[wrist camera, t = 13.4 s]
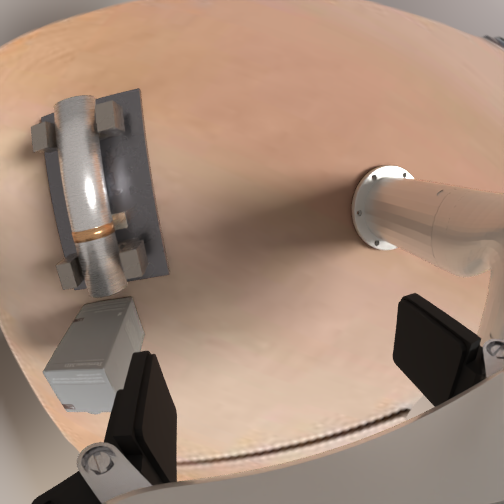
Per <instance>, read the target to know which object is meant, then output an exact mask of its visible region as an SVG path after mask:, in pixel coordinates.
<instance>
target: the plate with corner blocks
mask: <svg viewBox="0 0 504 504" xmlns="http://www.w3.org/2000/svg"><path fill="white" fill-rule="evenodd" d="M95 102H96V105H95V112H96V122H97V132H98V133H99V141H100V149H101V156H102V163H103V170H104V176H105V183H106V188H107V194H108V200H109V205H110V210H111V215H112V220H113V223H114V228H115V234H116V239H117V243H118V247H119V252H120V253H119V255H120V259H121V263H122V267H123V271H124V275H125V278H126V279H127V282H128V281H134V280H140V279H146V278H151V277H157V276H163V275H169V273H170V270H169V266H168V261H167V256H166V252H165V247H164V242H163V237H162V232H161V227H160V222H159V216H158V211H157V205H156V200H155V194H154V188H153V182H152V175H151V169H150V162H149V156H148V148H147V141H146V133H145V125H144V117H143V108H142V99H141V90H140V89H139V88H138V89H134V90H130V91H125V92H121V93H117V94H114V95H110V96H106V97H102V98H99V99H95ZM41 120H42V123H39V124H37V125H34V126H32V127H31V134H32V145H33V152H41V153H45V160H46V168H47V174H48V181H49V187H50V193H51V198H52V204H53V209H54V214H55V218H56V223H57V227H58V232H59V236H60V240H61V244H62V248H63V252H64V256H65V258H64V259H63V260H62V261H61V262H59V263H58V264H57V265H56V268H57V271H58V274H59V278H60V281H61V284H62V287H63V290H65V289H71V288H74V290H80V289H86V288H87V286H86V283H85V280H84V276H83V273H82V269H81V266H80V262H79V258H78V255H77V251H76V247H75V243H74V240H73V236H72V230H71V226H70V221H69V216H68V211H67V206H66V201H65V196H64V190H63V184H62V178H61V172H60V165H59V157H58V149H57V140H56V130H55V118H54V113H52V114H49V115H47V116H44V117H41Z"/></svg>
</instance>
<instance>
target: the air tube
mask: <svg viewBox="0 0 504 504" xmlns="http://www.w3.org/2000/svg"><path fill="white" fill-rule="evenodd" d="M95 105H96V102H95V97H94V96H90V95H82V96H75V97H71V98H67V99H64V100H62V101H60V102H58V103H56V104H55V105H54V118H55V130H56V140H57V149H58V157H59V165H60V172H61V178H62V184H63V190H64V196H65V201H66V206H67V211H68V216H69V221H70V226H71V230H72V236H73V240H74V243H75V247H76V251H77V255H78V258H79V262H80V266H81V269H82V273H83V276H84V280H85V283H86V286H87V290H88V293H89V295H90V296H91V297H96V298H98V297H106V296H110V295H113V294H115V293H118V292H120V291H121V290H123V289H124V288H125V287H126V286H127V285H128V283H127V279H126V278H125V275H124V271H123V267H122V263H121V259H120V255H119V253H120V252H119V247H118V243H117V239H116V234H115V228H114V223H113V220H112V215H111V210H110V205H109V200H108V194H107V188H106V183H105V176H104V170H103V163H102V156H101V149H100V141H99V133H98V132H97V122H96V112H95Z"/></svg>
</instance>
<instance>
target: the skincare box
mask: <svg viewBox="0 0 504 504" xmlns="http://www.w3.org/2000/svg"><path fill="white" fill-rule="evenodd" d="M144 335H145V334H144V331H143V328H142V325H141V322H140V320H139V317H138V314H137V310H136V307H135V304H134V301H133V298H132V297H128V298H120V299H113V300H107V301H101V302H95V303H91V304H86V305H84V306H83V307H82V309H81V310H80V312H79V313H78V315H77V316H76V318H75V320H74V321H73V323H72V324H71V326H70V327H69V329H68V331H67V332H66V334H65V335H64V337H63V339H62V340H61V342H60V344H59V345H58V347H57V349H56V350H55V352H54V354H53V355H52V357H51V359H50V360H49V362H48V364H47V366H46V367H45V369H44V371H43V374H44V376H45V377H46V379H47V381H48V382H49V384H50V386H51V387H52V389H53V391H54V392H55V394H56V396H57V397H58V399H59V400H60V402H61V403H62V405H63V407H64V408H65V410H66V411H67V412H88V413H91V414H99V413H101V412H111V411H112V407H113V403H114V399H115V396H116V393H117V391H118V390H119V389H123V388H124V384H125V380H126V376H127V373H128V369H129V365H130V362H131V358H132V354H133V353H134V352H140V350H141V346H142V343H143V339H144Z"/></svg>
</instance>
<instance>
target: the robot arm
mask: <svg viewBox="0 0 504 504" xmlns="http://www.w3.org/2000/svg"><path fill="white" fill-rule="evenodd" d="M357 211H358V213H357ZM352 219H353V224H354V226H355V229H356V231H357V233H358V235H359V236H360V237H361V239H362V240H363V241H364V242H365V243H367V244H368V245H370V246H372V247H373V248H376V249H379V250H392V249H396V248H400V249H402V250H404V251H407V252H409V253H411V254H413V255H415V256H417V257H419V258H421V259H423V260H425V261H427V262H429V263H431V264H433V265H435V266H437V267H439V268H441V269H443V270H445V271H447V272H449V273H451V274H453V275H456V276H459V277H473V276H477V275H480V274H482V273H484V272H486V271H488V270H490V269H491V276H490V282H489V287H488V289H489V290H488V295H487V299H486V303H485V307H484V311H483V315H482V319H481V323H480V326H479V330H478V333H477V335H476V334H475V333H473V332H472V331H471V330H469V329H468V328H466V327H465V326H463V325H462V324H461V323H459V322H458V321H456V320H455V319H453V318H452V317H451V316H449V315H448V314H446V313H445V312H443V311H442V310H440V309H439V308H437V307H436V306H434V305H433V304H432V303H430V302H429V301H427V300H426V299H424V298H423V297H421V296H420V295H418V294H416V293H413V294H410V295H407V296H404V297H402V299H401V301H400V302H399V304H398V314H397V324H396V334H395V342H394V350H393V360H394V363H395V364H396V365H397V366H398V367H399V368H400V369H401V370H402V371H403V373H404V374H405V375H406V376H407V377H408V378H409V379H410V380H411V381H412V382H413V383H414V384H415V386H416V387H417V388H418V389H419V390H420V391H421V392H422V393H423V394H424V395H425V397H426V398H427V399H428V400H429V401H430V402H431V403H432V404H433V405H434V406H435V407H434V408H432V409H430V410H428V411H426V412H424V413H422V414H420V415H418V416H416V417H414V418H411V419H409V420H407V421H405V422H403V423H400V424H398V425H396V426H394V427H391V428H389V429H387V430H384V431H382V432H379V433H377V434H374V435H372V436H369V437H366V438H364V439H361V440H358V441H356V442H353V443H350V444H347V445H344V446H341V447H338V448H335V449H332V450H329V451H326V452H323V453H319V454H316V455H313V456H309V457H305V458H302V459H298V460H294V461H290V462H286V463H282V464H278V465H274V466H269V467H265V468H260V469H255V470H250V471H244V472H239V473H234V474H228V475H222V476H215V477H208V478H200V479H193V480H186V481H179V482H177V468H176V440H177V413H176V408H175V405H174V403H173V400H172V398H171V395H170V393H169V390H168V387H167V385H166V382H165V379H164V377H163V374H162V371H161V368H160V365H159V363H158V360H157V357H156V355H155V354H150V352H149V351H142V352H134V353H133V354H132V358H131V362H130V365H129V369H128V373H127V376H126V380H125V384H124V388H123V389H119V390H118V391H117V393H116V396H115V399H114V403H113V407H112V411H111V415H110V419H109V423H108V427H107V431H106V435H105V439H104V442H99V443H94V444H91V445H89V446H87V447H86V448H85V449H83V450H82V451H81V453H80V454H79V456H78V458H77V467H78V470H79V471H78V472H77V473H75V474H74V475H72V476H70V477H69V478H67V479H66V480H64V481H63V482H61V483H60V484H58V485H56V486H55V487H53V488H52V489H50V490H48V491H47V492H45V493H43V494H42V495H40V496H38V497H37V498H36V499H35V500H34V501H33V502H32V504H504V193H497V192H490V191H483V190H477V189H472V188H466V187H460V186H455V185H449V184H443V183H437V182H430V181H424V180H417V179H414V178H413V176H412V175H411V174H410V173H408V172H407V171H406V170H404V169H402V168H400V167H397V166H391V165H386V166H380V167H377V168H375V169H373V170H371V171H369V172H368V173H367V174H366V175H365V176H364V177H363V178H362V180H361V181H360V182H359V184H358V186H357V188H356V190H355V193H354V196H353V201H352Z"/></svg>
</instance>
